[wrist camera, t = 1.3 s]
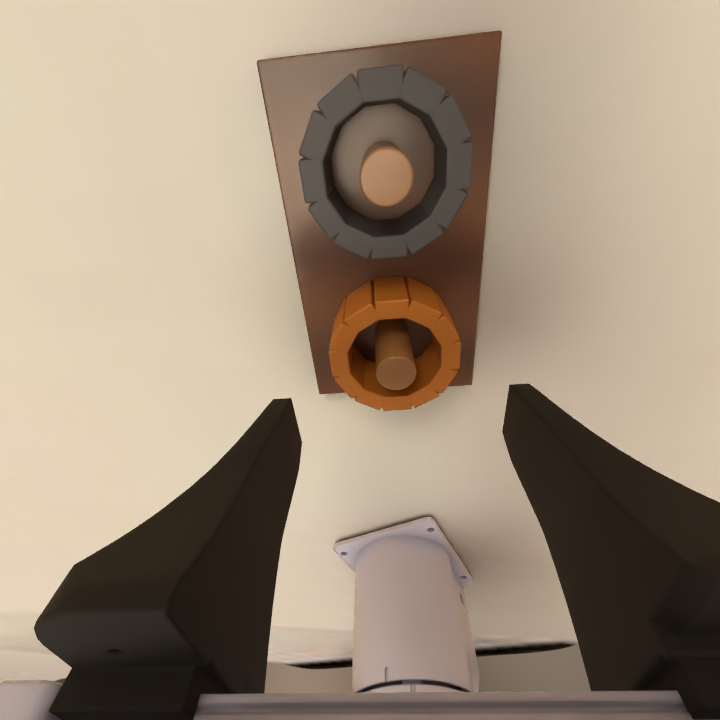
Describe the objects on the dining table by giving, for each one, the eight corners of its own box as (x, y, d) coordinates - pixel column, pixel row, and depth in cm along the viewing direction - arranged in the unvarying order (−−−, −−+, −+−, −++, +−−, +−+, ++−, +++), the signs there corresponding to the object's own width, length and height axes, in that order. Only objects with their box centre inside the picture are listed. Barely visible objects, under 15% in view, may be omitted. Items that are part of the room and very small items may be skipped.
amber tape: (451, 271, 16) (464, 294, 14) (447, 374, 19) (457, 407, 17) (327, 281, 16) (320, 306, 14) (341, 380, 19) (338, 414, 17)
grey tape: (452, 233, 15) (467, 252, 13) (321, 245, 16) (314, 265, 13) (459, 66, 12) (479, 54, 10) (298, 85, 13) (283, 77, 10)
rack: (468, 376, 20) (491, 434, 16) (320, 385, 20) (310, 443, 17) (495, 35, 12) (548, -3, 9) (261, 63, 13) (218, 39, 9)
